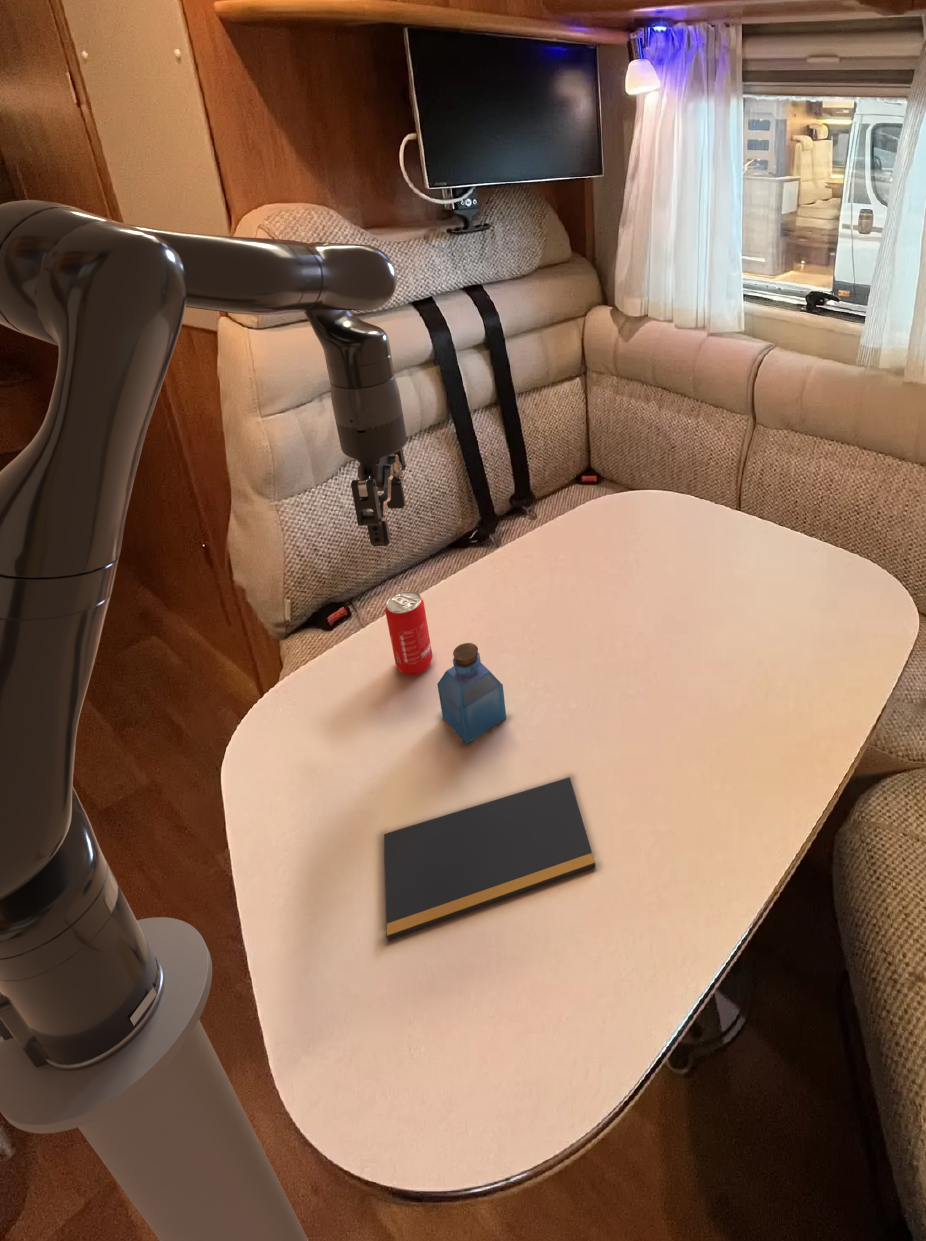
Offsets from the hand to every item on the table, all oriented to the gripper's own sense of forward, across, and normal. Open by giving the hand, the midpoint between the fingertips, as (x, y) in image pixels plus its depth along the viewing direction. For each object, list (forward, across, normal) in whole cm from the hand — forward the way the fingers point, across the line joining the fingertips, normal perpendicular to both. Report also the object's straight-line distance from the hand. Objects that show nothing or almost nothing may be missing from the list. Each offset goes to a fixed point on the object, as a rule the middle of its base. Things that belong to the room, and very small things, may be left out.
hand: (389, 525), depth 94 cm
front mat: (+27, +27, +13) cm, 41 cm away
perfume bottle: (+27, +8, +9) cm, 30 cm away
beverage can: (+27, -3, -1) cm, 27 cm away
